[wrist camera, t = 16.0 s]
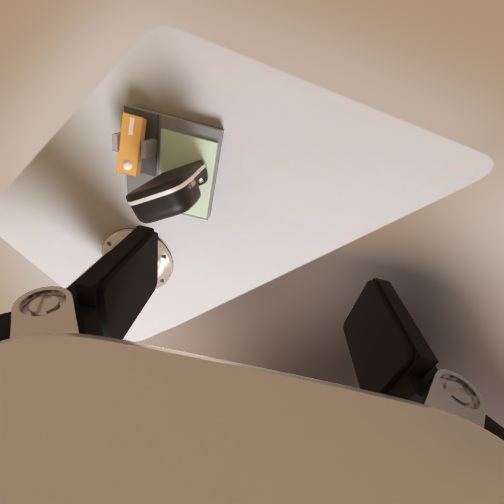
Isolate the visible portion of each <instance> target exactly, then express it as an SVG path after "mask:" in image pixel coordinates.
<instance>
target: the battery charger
mask: <svg viewBox="0 0 504 504" xmlns="http://www.w3.org/2000/svg"><path fill="white" fill-rule="evenodd" d="M207 180H208V174H207V170H206V166H205V164H204V162H203V161H202V160H198V161H195V162H192V163H190V164H187V165H184V166H181V167H178V168H175V169H172V170H169V171H166V172H164V173H161V174H160V175H158V176H157V177H155V178H153V179H152V180H150V181H148V182H146V183H145V184H143V185H141V186H140V187H138V188H137V189H135V190H133V191H132V192H130V193H129V194H127V196H126V199H127V201H128V202H127V203H128V204H129V206H131V208H132V210H133V211H134V213H135V215H136V216H137V218H138V219H139V220H140V221H141V222H144V223H152V222H155V221H158V220H162V219H165V218H169V217H172V216H175V215H178V214H181V213H184V212H186V211H188V210H189V209H190V208H192V207H193V206H194V205H195V204H196V203H197V201H198V200H199V198H200V196H201V192H200V189H199V186H200V185H203V184H205V183H206V182H207Z"/></svg>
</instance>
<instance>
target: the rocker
mask: <svg viewBox="0 0 504 504" xmlns="http://www.w3.org/2000/svg"><path fill="white" fill-rule="evenodd" d="M146 122H147V120H146V119H144V118H142V117H139V116H135V115H131V114H127V113H123V115H122V125H121V135H120V145H119V155H118V166H117V172H120V173H124V174H128V175H132V176H138V177H140V171H141V163H142V158H141V141H144V138H145V130H146Z"/></svg>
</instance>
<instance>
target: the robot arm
mask: <svg viewBox="0 0 504 504" xmlns="http://www.w3.org/2000/svg"><path fill="white" fill-rule="evenodd" d="M172 271H173V262H172V258H171V255H170V253H169V251H168V250H167V248H166V247H165V246H164V244H163V243H162V242H160V241H159V240H158V233H157V232H154V229H153V228H150V227H145V226H141V225H139V226H137V227H136V228H135V229H124V230H120V231H117V232H115V233H114V234H112V235H111V236H110V237H108V239H107V240H106V241H105V243H104V245H103V249H102V257H100V258H99V259H98V260H97V261H96V262H95V263H94V264H92V265H91V266H90V267H89V268H88V269H87V270H86V271H85V272H83V273H82V274H81V275H80V276H79V277H78V278H77V279H76V280H74V281H73V282H72V283H71V284H70V285H69V286H68V287H67V288H62V287H54V286H50V287H42V288H38V289H35V290H32V291H30V292H28V293H25V294H24V295H22V296H21V297H19V298H18V299H17V300H16V301H15V303H14V304H13V307H12V312H8V313H4V314H1V315H0V504H504V428H503V427H501V426H500V425H499V424H497V423H496V422H495V421H493V420H492V419H491V418H490V417H488V416H487V415H486V405H485V402H484V399H483V398H482V396H481V395H480V393H479V392H478V390H477V389H475V387H474V386H473V385H472V384H471V383H470V382H468V381H467V380H466V379H464V378H463V377H461V376H460V375H458V374H456V373H454V372H451V371H449V370H443V369H442V370H437V368H436V366H435V365H436V364H437V363H438V360H437V358H436V357H435V355H434V353H433V352H432V350H431V348H430V347H429V345H428V344H427V342H426V340H425V339H424V337H423V336H422V334H421V332H420V331H419V329H418V327H417V326H416V324H415V322H414V321H413V319H412V317H411V316H410V314H409V313H408V311H407V309H406V308H405V306H404V305H403V303H402V301H401V300H400V298H399V296H398V295H397V293H396V291H395V290H394V288H393V287H392V285H391V283H390V282H388V281H386V280H381V279H377V278H374V279H373V280H372V281H371V280H370V281H368V282H367V284H366V285H365V287H364V289H363V291H362V293H361V294H360V296H359V298H358V300H357V301H356V303H355V305H354V307H353V308H352V310H351V312H350V314H349V315H348V317H347V319H346V320H345V323H344V327H343V328H344V333H345V336H346V340H347V344H348V347H349V351H350V354H351V358H352V361H353V365H354V368H355V372H356V375H357V379H358V382H359V386H360V389H358V388H354V387H349V386H345V385H340V384H334V383H331V382H326V381H321V380H317V379H312V378H307V377H303V376H298V375H293V374H288V373H284V372H279V371H274V370H270V369H265V368H260V367H255V366H251V365H246V364H241V363H236V362H231V361H226V360H222V359H217V358H212V357H207V356H202V355H197V354H192V353H187V352H183V351H178V350H173V349H168V348H163V347H158V346H152V345H147V344H142V343H137V342H132V341H126V340H122V339H123V338H124V336H125V335H126V333H127V332H128V330H129V329H130V327H131V326H132V324H133V322H134V321H135V319H136V318H137V316H138V315H139V313H140V312H141V310H142V309H143V307H144V306H145V304H146V303H147V301H148V299H149V298H150V296H151V295H152V293H153V292H154V290H155V289H156V288H159V287H161V286H162V285H164V284H165V283H166V282H167V281H168V279H169V278H170V276H171V274H172Z"/></svg>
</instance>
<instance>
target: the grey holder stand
mask: <svg viewBox="0 0 504 504" xmlns="http://www.w3.org/2000/svg"><path fill="white" fill-rule="evenodd" d="M124 113H127V114H131V115H135V116H139V117H142V118H144V119H146V120H147V122H146V130H145V138H144V141H141V158H142V163H141V171H140V177H138V176H132V175H128V174H127V186H128V194H129V193H130V192H132V191H133V190H135V189H137V188H138V187H140V186H141V185H143V184H145V183H146V182H148V181H150V180H152V179H153V178H155V177H157V176H158V175H160V174H161V173H164V172H166V171H169V170H172V169H175V168H178V167H181V166H184V165H187V164H190V163H192V162H195V161H198V160H202V161H203V162H204V164H205V166H206V170H207V174H208V180H207V182H206V183H205V184H203V185H200V186H199V189H200V192H201V196H200V198H199V200H198V201H197V203H196V204H195V205H194V206H193V207H192V208H190V209H189V210H188V211H186V212H184V213H181V214H184V215H188V216H192V217H196V218H200V219H205V220H208V218H209V217H210V214H211V207H212V201H213V195H214V189H215V182H216V176H217V170H218V164H219V157H220V151H221V145H222V138H223V132H224V130H223V129H219V128H215V127H212V126H208V125H204V124H200V123H197V122H193V121H189V120H185V119H181V118H178V117H174V116H170V115H166V114H163V113H159V112H155V111H151V110H147V109H144V108H140V107H136V106H124ZM120 135H121V132H119V133H113V134H112V144H113V151H116V152H119V145H120Z"/></svg>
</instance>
